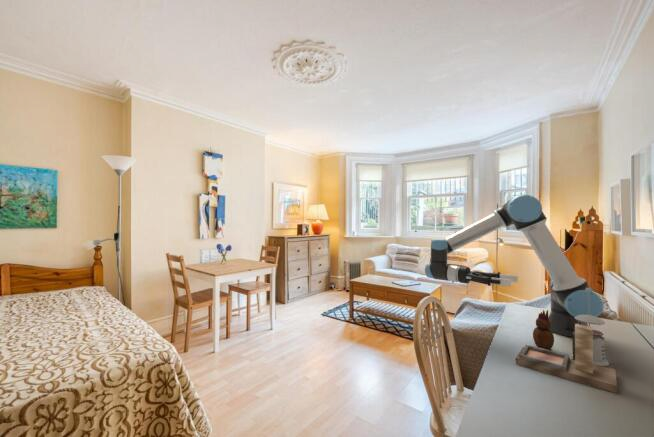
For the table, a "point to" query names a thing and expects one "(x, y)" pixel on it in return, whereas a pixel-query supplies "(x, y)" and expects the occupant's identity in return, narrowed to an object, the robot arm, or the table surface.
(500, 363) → the table surface
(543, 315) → the wooden figurine
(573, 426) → the table surface
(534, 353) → the wooden tray stand
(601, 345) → the french press
